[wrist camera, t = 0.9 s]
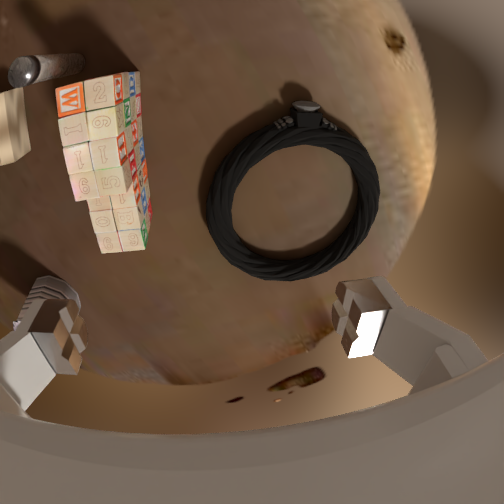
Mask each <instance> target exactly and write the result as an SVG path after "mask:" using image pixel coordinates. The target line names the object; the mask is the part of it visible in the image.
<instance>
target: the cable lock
mask: <svg viewBox="0 0 504 504" xmlns="http://www.w3.org/2000/svg"><path fill="white" fill-rule="evenodd" d="M292 105H293V106H294V107H295V108H296V109H292V108H290V111H291V116H285V117H282V119H283V120H282V119H279V120H277V121H275V122H273V124H272V125H269V126H266V127H264V128H262V129H261V130H259V131H256V132H254V133H252V134H250V135H249V136H247V137H246V138H245V139H244V140H242V141H241V142H240V143H239V144H238V145H237V146H236V147H235V148H234V149H233V151H232V152H231V153H230V154H228V155H227V156H226V157H225V158H224V160H223V161H222V163H221V164H220V166H219V168H218V169H217V171H216V172H215V175H214V178H213V182H212V184H211V187H210V190H209V194H208V198H207V204H206V218H207V223H208V228H209V232H210V234H211V236H212V238H213V240H214V242H215V244H216V245H217V247H218V249H219V251H220V253H221V254H222V255H223V256H224V257H225V258H226V259H227V260H228V261H229V263H230V264H232V265H234V266H235V267H237V268H239V269H241V270H242V271H244V272H246V273H248V274H249V275H251V276H254V277H257V278H260V279H263V280H276V281H295V280H300V279H305V278H309V277H312V276H316V275H319V274H322V273H324V272H327V271H328V270H330V269H331V268H333V267H334V266H335V265H337V264H339V263H341V262H342V261H344V260H345V259H346V258H347V257H348V256H349V255H350V254H351V253H352V252H353V251H354V250H355V249H356V248H357V247H358V246H359V245H360V244H361V243H362V241H363V240H364V239H365V238H366V237H367V235H368V232H369V230H370V228H371V226H372V224H373V222H374V220H375V217H376V214H377V211H378V202H379V196H380V187H379V180H378V174H377V171H376V167H375V165H374V163H373V161H372V160H371V158H370V156H369V154H368V152H367V150H366V148H365V147H364V146H363V145H362V144H361V143H360V142H359V140H357V139H356V138H354V137H353V136H351V135H350V134H349V133H347V132H346V131H345V130H343V129H341V128H339V127H337V126H336V125H335V124H334V123H331V122H330V121H328V120H326V119H325V118H323V117H322V115H323V113H321V112H319V111H318V109H319V108H320V107H321V106H320V105H319V104H317V103H315V102H310V101H296V102H293V103H292ZM290 117H291V118H290ZM305 144H306V145H312V146H318V147H324V148H327V149H329V150H331V151H333V152H335V153H336V154H338V155H340V156H341V157H342V158H343V159H344V160H345V161H346V162H347V163H348V165H349V166H350V167H351V168H352V170H353V173H354V175H355V178H356V181H357V184H358V204H357V208H356V211H355V214H354V217H353V219H352V220H351V222H350V224H349V226H348V227H347V229H346V230H345V231H344V233H343V234H342V235H341V236H340V237H339V238H338V239H337V240H336V241H335V242H334V243H332V244H331V245H330V246H329V247H327V248H326V249H325V250H323V251H321V252H319V253H316V254H314V255H311V256H309V257H306V258H304V259H300V260H288V261H279V260H272V259H268V258H265V257H262V256H260V255H257V254H255V253H253V252H251V251H249V250H248V249H247V248H246V246H245V245H244V244H243V243H242V242H241V240H240V239H239V237H238V236H237V234H236V232H235V231H234V229H233V225H232V214H231V208H232V202H233V197H234V193H235V190H236V188H237V186H238V185H239V183H240V182H241V180H242V179H243V177H244V176H245V174H246V173H247V171H248V170H249V169H250V168H251V167H252V166H254V165H255V164H257V163H258V162H259V161H261V160H262V159H263V158H265V157H266V156H268V155H269V154H271V153H272V152H274V151H277V150H279V149H282V148H287V147H292V146H297V145H305Z"/></svg>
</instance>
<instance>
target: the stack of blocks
mask: <svg viewBox="0 0 504 504" xmlns="http://www.w3.org/2000/svg"><path fill="white" fill-rule="evenodd" d="M55 90H56V100H57V109H58V116H59V120H58V123H59V129H60V135H61V140H62V145H63V147H64V148H63V152H64V157H65V162H66V166H67V170H68V174H69V175H70V182H71V185H72V189H73V193H74V197H75V200H76V201H81V200H87V203H88V207H89V211H90V212H89V213H90V217H91V221H92V225H93V228H94V232H95V233H96V236H97V240H98V243H99V247H100V250H101V253H112V252H122V251H134V250H145V248H146V244H147V240H148V232H149V228H150V222H151V219H152V209H151V202H150V191H149V184H148V178H147V177H148V176H147V166H146V158H145V153H144V143H143V133H142V121H141V97H140V72H139V71H136V72H122V73H117V74H112V75H107V76H101V77H97V78H92V79H88V80H84V81H80V82H77V83H73V84H69V85H66V86H63V87H59V88H56V89H55Z"/></svg>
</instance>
